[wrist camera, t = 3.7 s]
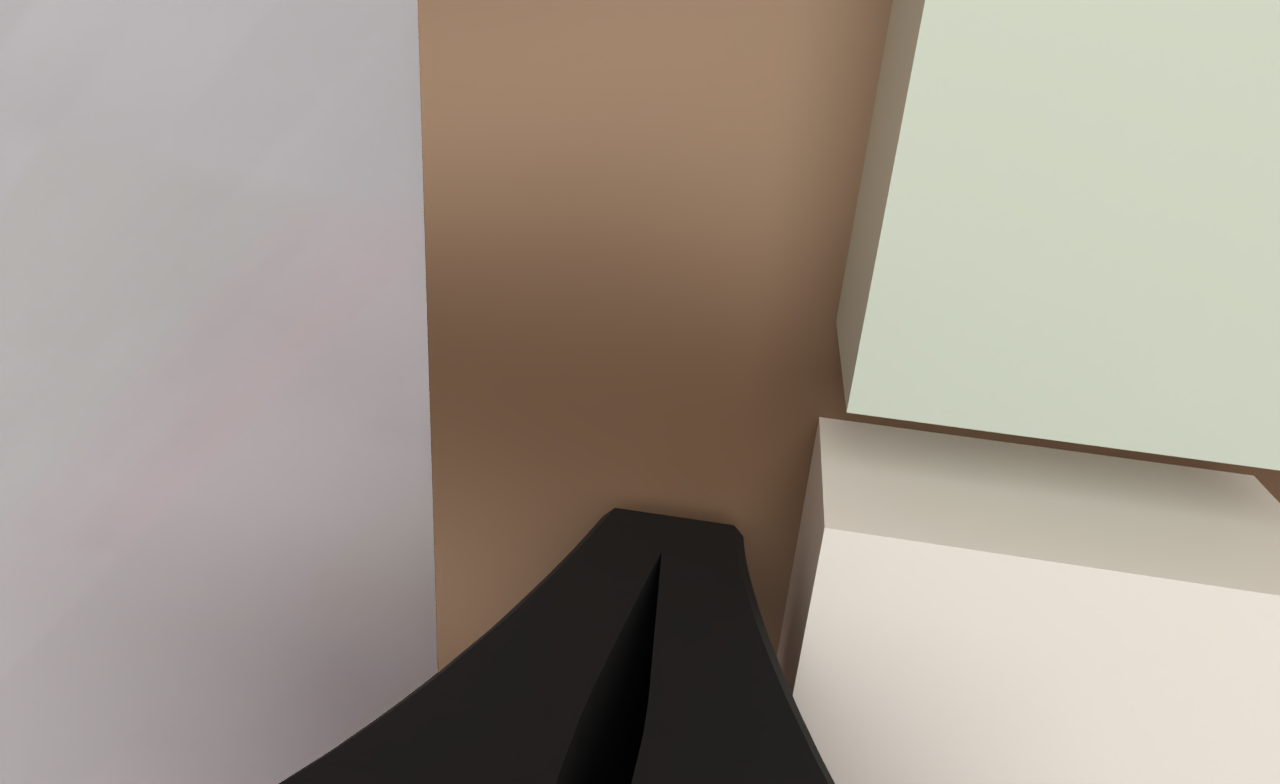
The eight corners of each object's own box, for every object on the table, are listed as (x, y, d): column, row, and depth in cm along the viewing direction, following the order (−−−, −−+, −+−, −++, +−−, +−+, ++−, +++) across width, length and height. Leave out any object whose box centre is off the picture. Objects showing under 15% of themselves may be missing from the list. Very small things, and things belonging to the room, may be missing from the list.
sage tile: (1295, 377, 8) (1443, 492, 6) (836, 321, 8) (847, 412, 6) (1516, -152, 6) (1818, -212, 4) (925, -185, 7) (973, -251, 5)
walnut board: (1274, 817, 13) (1396, 1025, 11) (507, 681, 15) (442, 835, 12) (1819, -205, 8) (2344, -306, 5) (519, -267, 9) (406, -371, 7)
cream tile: (1123, 784, 10) (1195, 960, 8) (764, 722, 10) (759, 875, 9) (1254, 475, 8) (1381, 610, 6) (819, 417, 9) (824, 528, 7)
